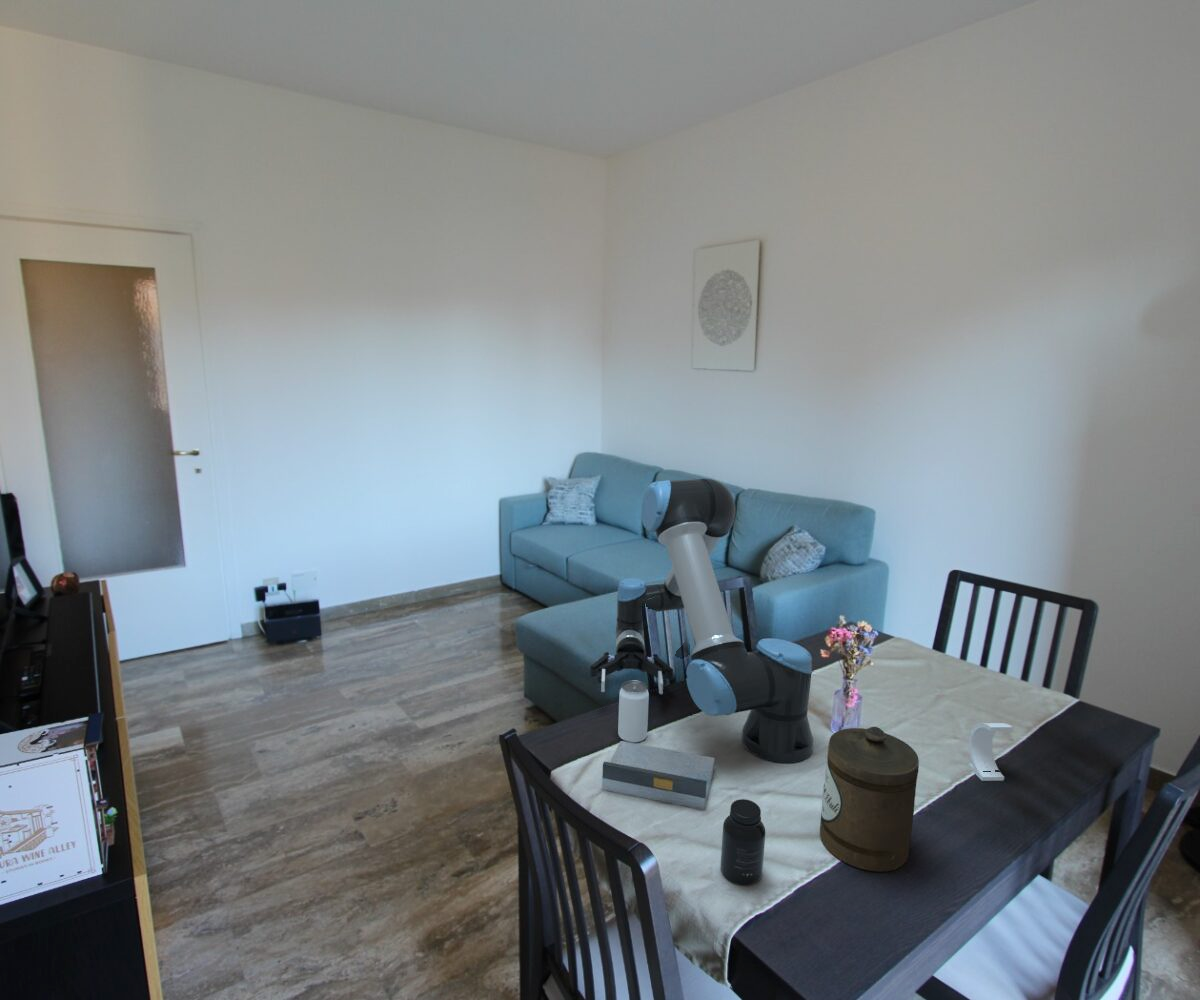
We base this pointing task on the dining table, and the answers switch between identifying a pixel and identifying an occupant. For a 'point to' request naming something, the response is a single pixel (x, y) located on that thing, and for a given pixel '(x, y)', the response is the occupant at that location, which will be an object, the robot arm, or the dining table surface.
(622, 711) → the can
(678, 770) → the grey tray
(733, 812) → the supplement bottle
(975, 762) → the headphone stand
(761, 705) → the robot arm
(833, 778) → the wooden container
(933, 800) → the dining table surface
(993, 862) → the dining table surface
